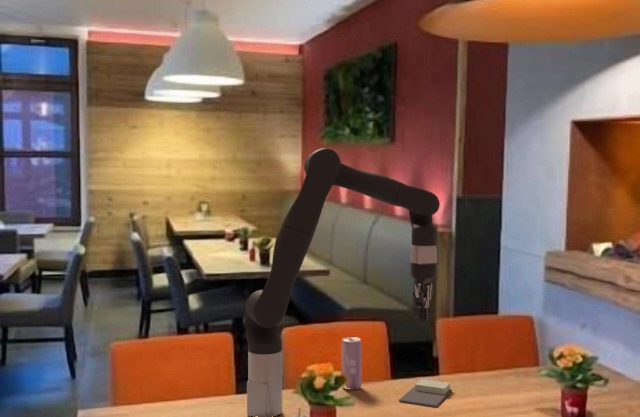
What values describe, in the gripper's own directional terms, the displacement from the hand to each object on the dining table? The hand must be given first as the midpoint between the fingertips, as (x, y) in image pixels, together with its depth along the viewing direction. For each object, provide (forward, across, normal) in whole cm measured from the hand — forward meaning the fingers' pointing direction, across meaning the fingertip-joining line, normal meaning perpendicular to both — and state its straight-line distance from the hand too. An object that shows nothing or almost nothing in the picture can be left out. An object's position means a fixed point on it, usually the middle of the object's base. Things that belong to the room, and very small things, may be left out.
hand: (423, 320), depth 192 cm
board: (+22, -5, 0) cm, 22 cm away
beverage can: (+23, -1, -23) cm, 33 cm away
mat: (+23, -3, 0) cm, 23 cm away
